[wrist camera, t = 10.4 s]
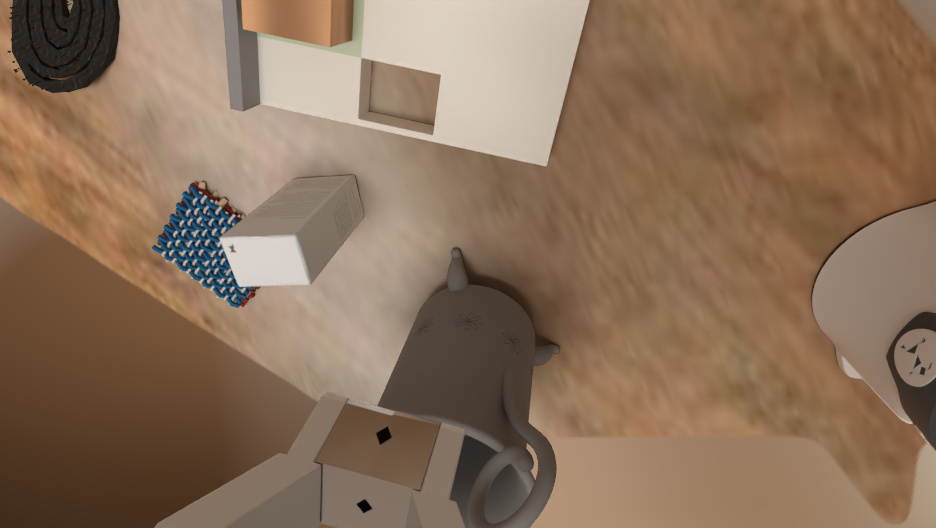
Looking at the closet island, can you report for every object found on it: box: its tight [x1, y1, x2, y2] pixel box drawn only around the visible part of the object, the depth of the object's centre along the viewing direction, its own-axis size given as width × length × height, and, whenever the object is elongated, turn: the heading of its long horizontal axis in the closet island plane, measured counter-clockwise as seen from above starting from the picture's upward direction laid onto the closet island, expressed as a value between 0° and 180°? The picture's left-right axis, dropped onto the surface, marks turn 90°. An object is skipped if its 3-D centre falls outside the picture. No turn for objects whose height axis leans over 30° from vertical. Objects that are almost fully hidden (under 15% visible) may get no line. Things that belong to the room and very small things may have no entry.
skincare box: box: [219, 175, 364, 287], centre depth 41 cm, size 6×4×12 cm
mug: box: [378, 248, 560, 528], centre depth 39 cm, size 19×15×25 cm
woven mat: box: [152, 182, 260, 308], centre depth 50 cm, size 10×11×2 cm
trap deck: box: [222, 0, 590, 167], centre depth 35 cm, size 24×18×5 cm
